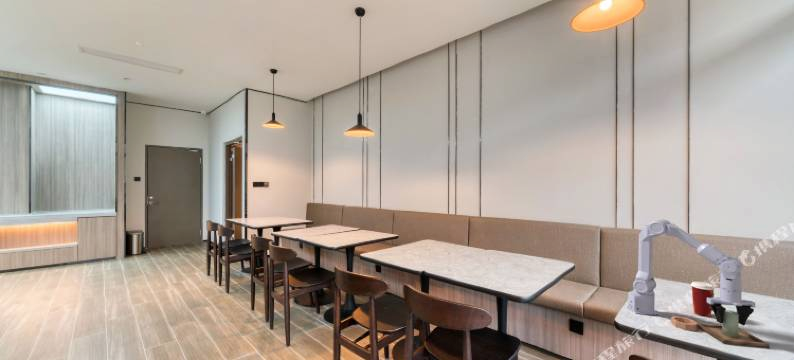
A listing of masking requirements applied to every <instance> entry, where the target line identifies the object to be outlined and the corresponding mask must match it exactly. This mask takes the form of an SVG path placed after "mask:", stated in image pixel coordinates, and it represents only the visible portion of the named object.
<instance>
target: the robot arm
mask: <svg viewBox="0 0 794 360" xmlns="http://www.w3.org/2000/svg"><path fill="white" fill-rule="evenodd" d="M661 235H665V236H666V237H667V236H668V237H674V238H677V239H679V240H681V241H682V242H684V243H685V244H687V245H689V246H690V247H692V248H694V249H695V250H696V251H697V254H698V255H700V256H701V257H702V258H704V259H705V260H707V261H709V262H710V263H712V264H713V265H715V266H717V267H718V269H719V271H720V276H719V277H720V278H719V280H720V281H719V297H714V298H707V303H709V305H710V306H711V308H712V310H713V311H712V312H713V314H714V316H715V320H716V322H717V323H719V324H720V325H722V324H723V320H724V312H725V310H726V309H727V308H726V307H724V305H725V306H735V309H736V313H738V314H739V325H741V326H745V325H746V323H747V320H748V318H750V316H751V315H752V314H753V313H754V311H755V310H754V308H756V302H754V301H752V300H746V299H743V298H742V295H743V294H742V291H743V290H742V289H743V287H742V285H743V284H742V282H743V281H742V272H741V271H742V270H743V267H744V266H743V263H742V262H741V261H740V260H739V259H738V258H736V257H732V255H730V254H727V253H725V252H723V251H722V250H720V249H719V248H718V246H716V245H715V244H713V245H712V244H711V243H703V242H701V241H700V240H698V239H697V238H695V237H694V236H692V235H691V234H690V233H688V232H687V231H685V230H684V229H682V228H681V227H679V226H678V225H676V224H675V223H671V222H670V221H669V220H667V219H658V220H653V221H651V222H649V223H647V224H645V227H643V228H642V230H641V231H640V232H639V233H638V251H637V252H638V257H637V259H638V261H637V264H638V265H637V272H636V274H635V280H634V281H633V283H632V288H633V289H634V290H631V291H628V293H627V308H628V309H629V310H631V311H632V312H633V313H635V314H637V315H638V314H639V315H640V314H641V315H653V316H659V315H658V314H659V313H658V312H657V311H656V310H655V296H656V295H655V291H654V290H655V289H656V287H657V282H656V281H655V275H654V274H653V250H654V248H653V246H654V245H653V244H654V239H655V238H658V237H660V236H661ZM654 314H655V315H654ZM656 314H657V315H656Z"/></svg>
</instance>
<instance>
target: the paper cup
mask: <svg viewBox="0 0 794 360" xmlns="http://www.w3.org/2000/svg"><path fill="white" fill-rule="evenodd" d="M690 286H691V292H692V293H691V294H692V307H693V309H692V310H693V314H695V315H697V316H700V317H705V318H711V317H712V312H713V311H712V308H711V306H710V305H709V303H707V298H713V290H715V288H714V286H713V285H712V284H711V283H708V282H703V281H692V282H691V284H690Z"/></svg>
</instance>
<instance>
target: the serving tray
mask: <svg viewBox="0 0 794 360" xmlns="http://www.w3.org/2000/svg"><path fill="white" fill-rule="evenodd" d="M696 323H697V329H700V330H702V331H703V332H704V333H706V334H707V335H709V336H711V337H712V338H714V339H716V340H717V341H719V343H722V344H723V345H733V346H741V347H742V346H743V347H751V348H752V347H755V348H762V349H763V348H764V349H765V348H766V349H771V345H770V343H768V342H766V341H764V340H762V339H761V338H760V337H756V335H753V334H752V333H750V332H748V331H746V330H744V329H742V328H741V327H739V338H732V337H728V336H725V335H724V334H722V324H714V323H704V322H703V323H701V322H696Z"/></svg>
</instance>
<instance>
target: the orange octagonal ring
mask: <svg viewBox="0 0 794 360" xmlns="http://www.w3.org/2000/svg"><path fill="white" fill-rule="evenodd" d="M671 323H672V324H673V326H674V328H678V329H682V330H685V331H692V332H696V331H697V330H698V327H697V323H698V322H696V321H695V320H693V319H691V318H687V317H684V316H679V315H678V316H677V315H673V316H672V317H670V324H671ZM672 324H671V325H672Z"/></svg>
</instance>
